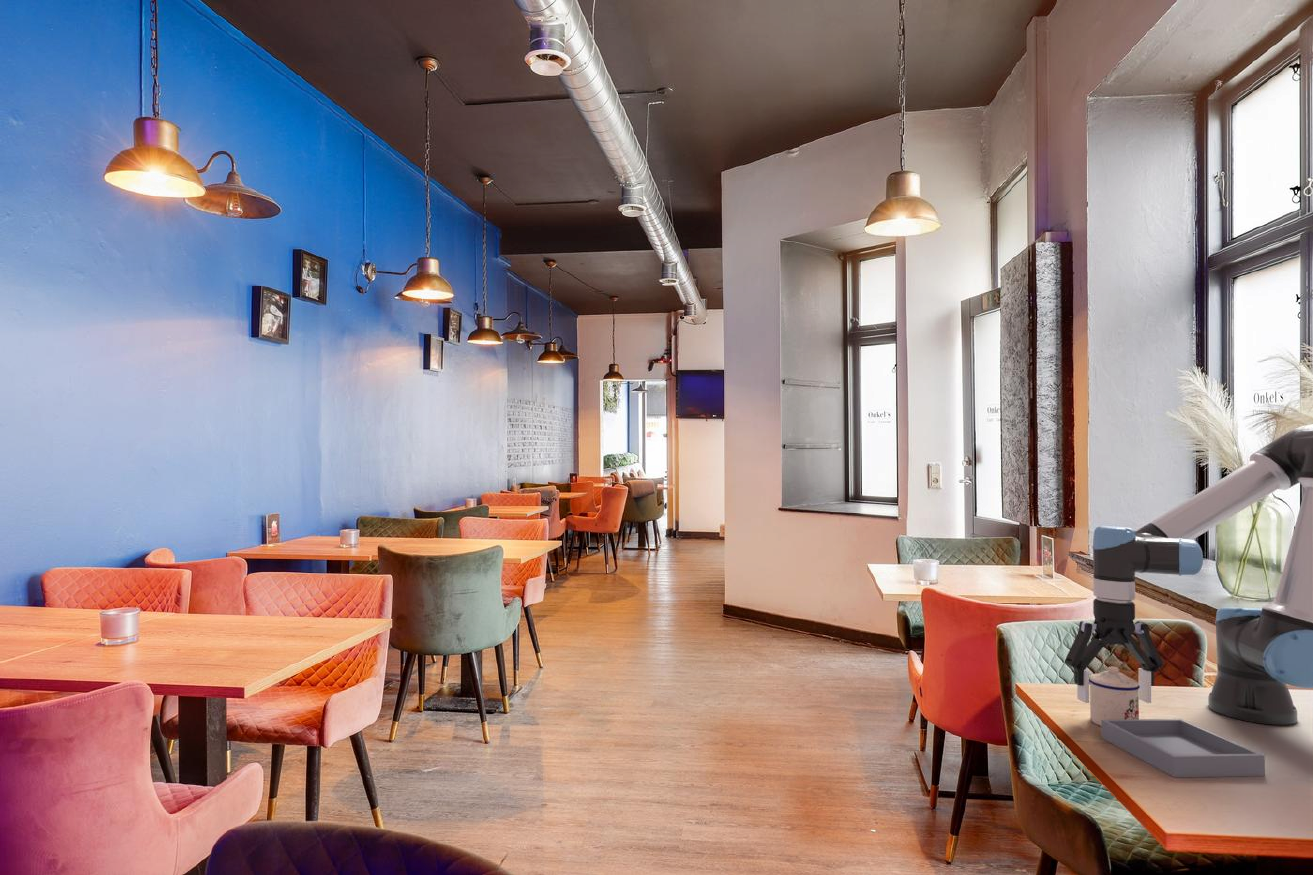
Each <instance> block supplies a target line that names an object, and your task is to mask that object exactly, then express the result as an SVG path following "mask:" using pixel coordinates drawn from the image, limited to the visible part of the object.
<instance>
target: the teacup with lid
mask: <svg viewBox="0 0 1313 875" xmlns="http://www.w3.org/2000/svg"><path fill="white" fill-rule="evenodd" d="M1139 688H1140V686H1139V684H1138V681H1137V680H1136V679H1134V678H1131V677H1128V676H1127V675H1126V674H1124V673H1122V672H1120V669H1119V667H1116V666H1108V667H1107V670H1105V671H1101V672H1100V673H1093V674H1091V675H1089V706H1090V707H1089V708H1090V714H1089V715H1090V720H1091V721H1092V722H1093V723H1094V724H1096V725H1098V726H1100V727H1101V720H1128V719H1140V713H1139V712H1140V708H1139V707H1140V704H1139V701H1140V699H1139Z"/></svg>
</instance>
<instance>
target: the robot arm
mask: <svg viewBox="0 0 1313 875" xmlns="http://www.w3.org/2000/svg"><path fill="white" fill-rule="evenodd" d="M1298 484H1300V485H1301V486H1302V487H1303V488H1304V493H1303V496H1302V499H1301V504H1300V507H1299V510H1298V514H1297V518H1296V522H1295V525H1294V530H1293V532H1292V537H1291V539H1290V544H1289V548H1288V551H1287V554H1286V558H1285V562H1284V565H1283V569H1282V573H1281V576H1280V580H1279V583H1278V587H1277V590H1276V595H1275V598H1274V601H1273V602H1270V603H1268V604H1266V605H1264V606H1262V608H1260V607H1259V608H1258V607H1243V606H1242V607H1240V606H1238V607H1237V606H1221V607H1219V608H1218V609H1217V610H1216V615H1215V621H1214V622H1215V629H1216V630H1215V635H1216V636H1215V637H1216V663H1217V664H1216V665H1217V671H1216V672H1217V673H1216V676H1215V679H1214V683H1213V685H1212V688H1211V692H1210V693H1209V695H1208V698H1207V699H1208V701H1207V702H1208V705H1207V706H1208V708H1209V709H1211V711H1214V712H1216V713H1217V714H1220V715H1223V716H1225V717H1228V718H1229V717H1230V718H1233V719H1237V720H1241V721H1247V722H1251V723H1257V724H1265V725H1278V726H1282V725H1283V726H1285V725H1287V726H1288V725H1293V724H1296V723H1297V722H1298V709H1297V707H1296V706H1295V705H1294V702H1293V699H1292V696H1291V692H1290V690H1289V688H1288V686H1287V685H1289V686H1292V687H1295V688H1296V687H1297V688H1299V689H1302V688H1303V689H1313V423H1309V424H1303V425H1301V426H1298V427H1296V428H1293V429H1292V430H1290V431H1288V432H1286V433H1285V434H1283V435H1281V436H1280V437H1278V438H1276V439H1275V440H1273V441H1271V442H1269V443H1268V444H1267V445H1265V446H1263V447H1261V448H1259V450H1257V451H1256V452H1253V453H1252V454H1251V455H1250V456H1249V461H1248V462H1247V463H1245V464H1244V465H1241V467H1238V468H1237V469H1235V470H1234V471H1232V472H1231V473H1229V474H1228V475H1226V476H1224V477H1223V478H1221V479H1219V480H1217V481H1216V482H1214V483H1213V484H1211V485H1210V486H1207V487H1206V488H1204V489H1203V490H1202V491H1199V492H1198V493H1196V494H1195V495H1193V496H1191V497H1190V498H1188V499H1186V500H1185V501H1182V503H1180V504H1179V505H1177V506H1175V507H1173V508H1172V509H1170V510H1168V511H1167V512H1166V513H1164V514H1161V516H1158V517H1157V518H1156V519H1154V520H1152V521H1151V522H1149V523H1147V524H1146V525H1144V526H1142V527H1140V528H1139V529H1138V530H1136V531H1135V529H1134V528H1132V527H1129V526H1128V527H1127V526H1113V525H1110V526H1109V525H1101V526H1097V527H1095V528H1094V530H1093V539H1092V559H1093V561H1092V562H1093V564H1092V566H1093V581H1092V582H1093V584H1092V586H1093V590H1092V591H1093V594H1092V595H1093V596H1094V597H1095V598H1094V599H1093V600H1092V607H1093V608H1092V610H1093V611H1092V613H1093V616H1094V621H1093V623H1090V622H1087V621H1084V620H1080V622H1079V625H1078V626H1079V627H1078V632H1077V634H1076V636H1075V638H1074V640H1073V643H1072V644H1071V647H1070V648H1069V650H1068V653H1067V655H1066V657H1065V659H1064V664H1065V665H1067V666H1069V667H1071V668H1073V670H1074V671H1073V683H1074V685H1076V687H1077V688H1076V689H1077V690H1076V691H1077V692H1076V693H1077V694H1076V695H1077V698H1076V699H1077V700H1079V701H1081V702H1083V703H1084V704H1090V682H1089V677H1090V671H1089V670H1087V668H1088V667H1089V665H1090V664H1091V663H1092V662H1093V661H1094V659H1095V658H1096V657H1097V655H1098V654H1099V653H1100V651H1101V650H1103V648H1106V646H1107V645H1109V646H1115V645H1120V646H1125V647H1126V648H1127V649H1128V651H1129V652H1130V653H1131V655H1132V656H1133V657H1134V659H1135V660H1137V662H1138V664H1140V665H1141V667H1139V668H1138V669H1137V670H1138V679H1137V680H1138V681H1137V682H1138V684H1139V686H1140V688H1139V689H1138V697H1139V701H1143V703H1146V704H1152V687H1153V686H1154V684H1155V673H1157V672H1159V669H1163V668H1164V666H1165V664H1164V662H1163V660H1162V658H1161V656H1160V653H1159V652H1158V649H1157V647H1156V645H1155V643H1154V640H1153V639H1152V637H1151V635H1150V627H1149V624H1147V623H1144V622H1141V621H1136V622H1135V623H1134V620H1136V604H1135V603H1134V602H1133V601H1135V600H1136V576H1135V575H1136V573H1138V574H1140V573H1141V574H1146V573H1147V574H1156V575H1157V574H1158V575H1159V574H1161V575H1174V576H1187V575H1188V576H1194V575H1197V574H1198V573H1200V572H1201V569H1202V567H1203V564H1204V554H1203V550H1202V548H1201V546H1200V544H1199V542H1197V541H1196V540H1195V539H1196V538H1197V537H1200V536H1201V535H1203V534H1205V533H1207V532H1208V531H1210V530H1212V529H1213V528H1215V527H1217V526H1218V525H1220V524H1222V523H1223V522H1225V521H1227V520H1229V519H1230V518H1231V517H1233V516H1234V515H1236V514H1238V513H1240V512H1241V511H1243V510H1245V509H1246V508H1249V507H1250V506H1252V505H1254V504H1255V503H1257V502H1258V501H1260V500H1262V499H1263V498H1265V497H1267V496H1268V495H1270V494H1272V493H1274V492H1275V491H1277V490H1282V491H1285V490H1289V489H1290V488H1292V487H1294V486H1295V485H1298ZM1094 632H1095V633H1094ZM1093 633H1094V634H1093ZM1134 633H1136V637H1137V638H1138V641H1139V642H1140V644H1141V646H1140V645H1139V644H1138V641H1137V640H1136V639H1135V637H1134V636H1133V634H1134ZM1092 634H1093V635H1092ZM1141 647H1142V648H1141Z"/></svg>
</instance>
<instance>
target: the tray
mask: <svg viewBox="0 0 1313 875" xmlns="http://www.w3.org/2000/svg"><path fill="white" fill-rule="evenodd" d="M1100 727H1101V739H1102V740H1105V741H1106V742H1109V743H1110V744H1112V745H1114V746H1116V747H1117V748H1120V749H1122V750H1123V751H1125V752H1127V753H1129V754H1130V755H1132V756H1133V757H1135V758H1138V759H1140V760H1141V761H1143V762H1145V763H1147V764H1149V765H1151V766H1153V767H1154V768H1156V769H1158V770H1160V771H1162V772H1164V773H1165V774H1168V775H1169V776H1171V777H1172V778H1210V777H1211V778H1212V777H1213V778H1215V777H1217V778H1219V777H1223V778H1225V777H1266V759H1265V756H1266V755H1265V754H1262V753H1261V752H1258V751H1256V750H1253V749H1251V748H1249V747H1246V746H1244V745H1242V744H1240V743H1237V742H1235V741H1233V740H1232V739H1229V738H1225V737H1223V736H1221V735H1219V734H1217V733H1215V732H1212V731H1210V730H1207V729H1205V728H1203V727H1200V726H1198V725H1196V724H1194V723H1191V722H1189V721H1187V720H1184V719H1182V718H1149V719H1148V718H1146V719H1144V718H1139V719H1128V720H1101V726H1100Z"/></svg>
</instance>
